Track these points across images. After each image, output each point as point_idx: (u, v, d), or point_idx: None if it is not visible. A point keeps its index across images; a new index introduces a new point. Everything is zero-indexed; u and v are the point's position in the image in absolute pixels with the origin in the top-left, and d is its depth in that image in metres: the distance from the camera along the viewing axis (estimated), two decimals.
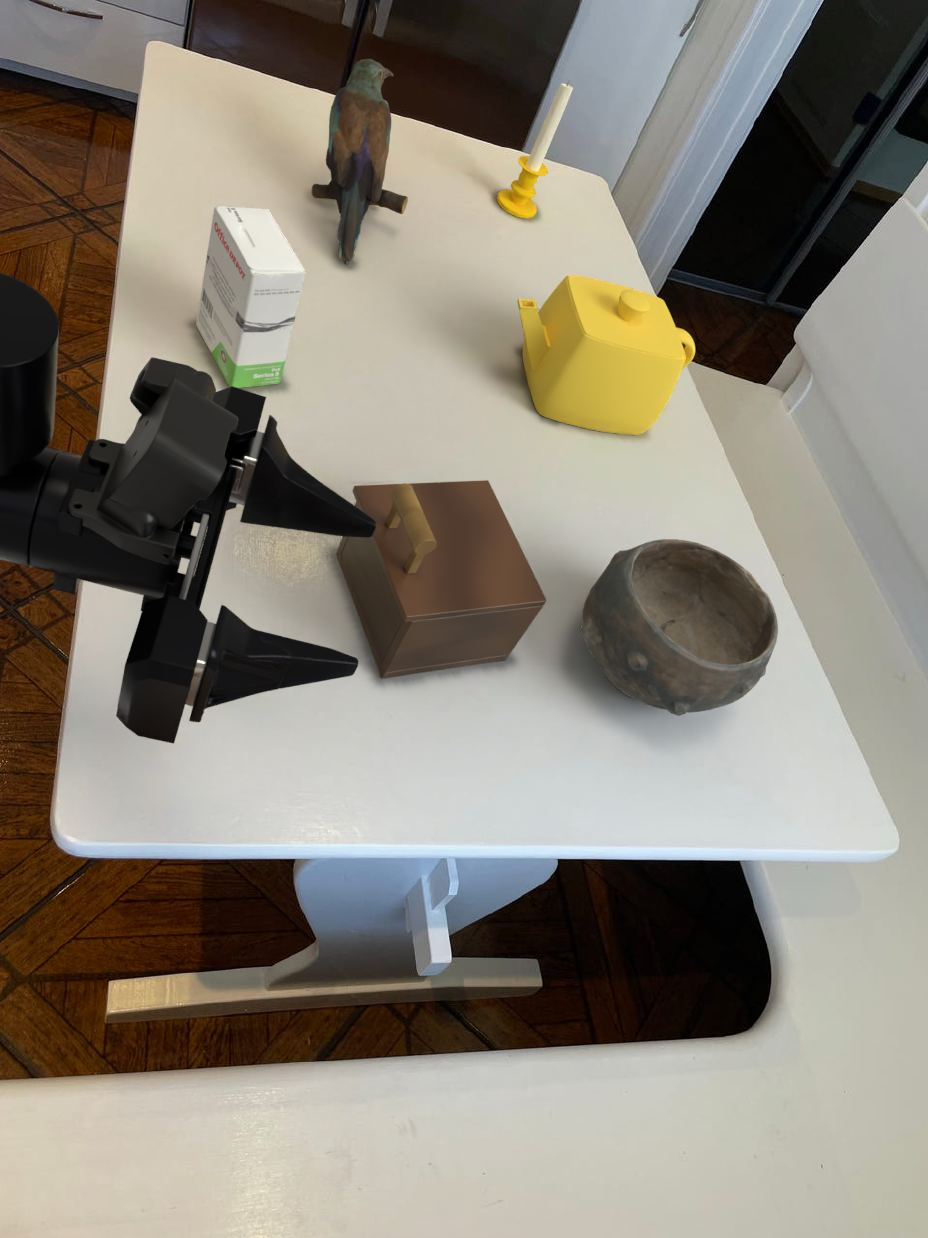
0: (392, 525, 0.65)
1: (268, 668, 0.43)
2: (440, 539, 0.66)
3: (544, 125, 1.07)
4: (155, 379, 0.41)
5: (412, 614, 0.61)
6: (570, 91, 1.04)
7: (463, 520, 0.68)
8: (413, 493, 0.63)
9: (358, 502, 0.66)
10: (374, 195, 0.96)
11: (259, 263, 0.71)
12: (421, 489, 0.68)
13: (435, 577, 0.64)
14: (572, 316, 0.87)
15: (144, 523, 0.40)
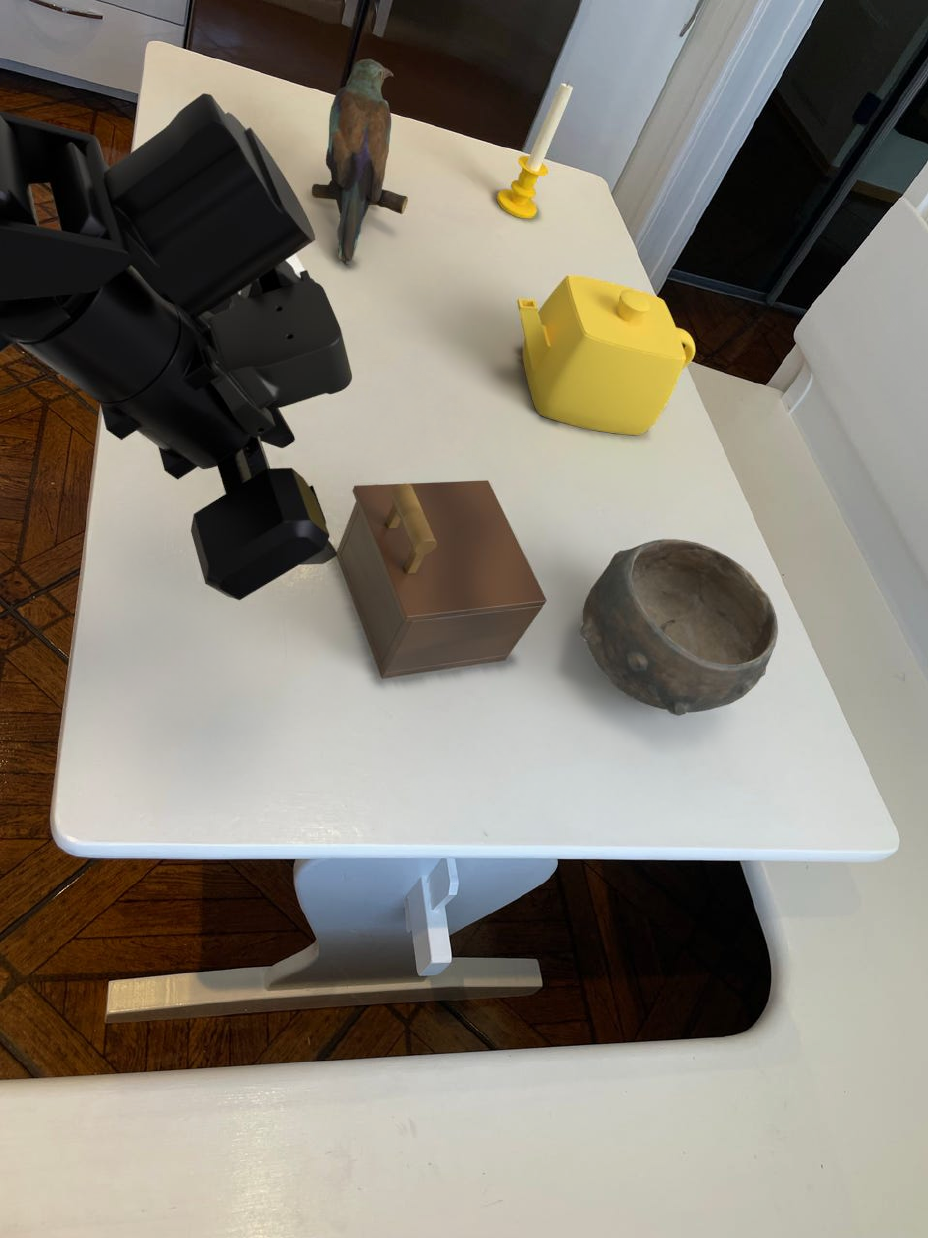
0: (392, 525, 0.65)
1: None
2: (440, 539, 0.66)
3: (544, 125, 1.07)
4: (285, 272, 0.46)
5: (412, 614, 0.61)
6: (570, 91, 1.04)
7: (463, 520, 0.68)
8: (413, 493, 0.63)
9: (358, 502, 0.66)
10: (374, 195, 0.96)
11: None
12: (421, 489, 0.68)
13: (435, 577, 0.64)
14: (572, 316, 0.87)
15: (274, 398, 0.45)
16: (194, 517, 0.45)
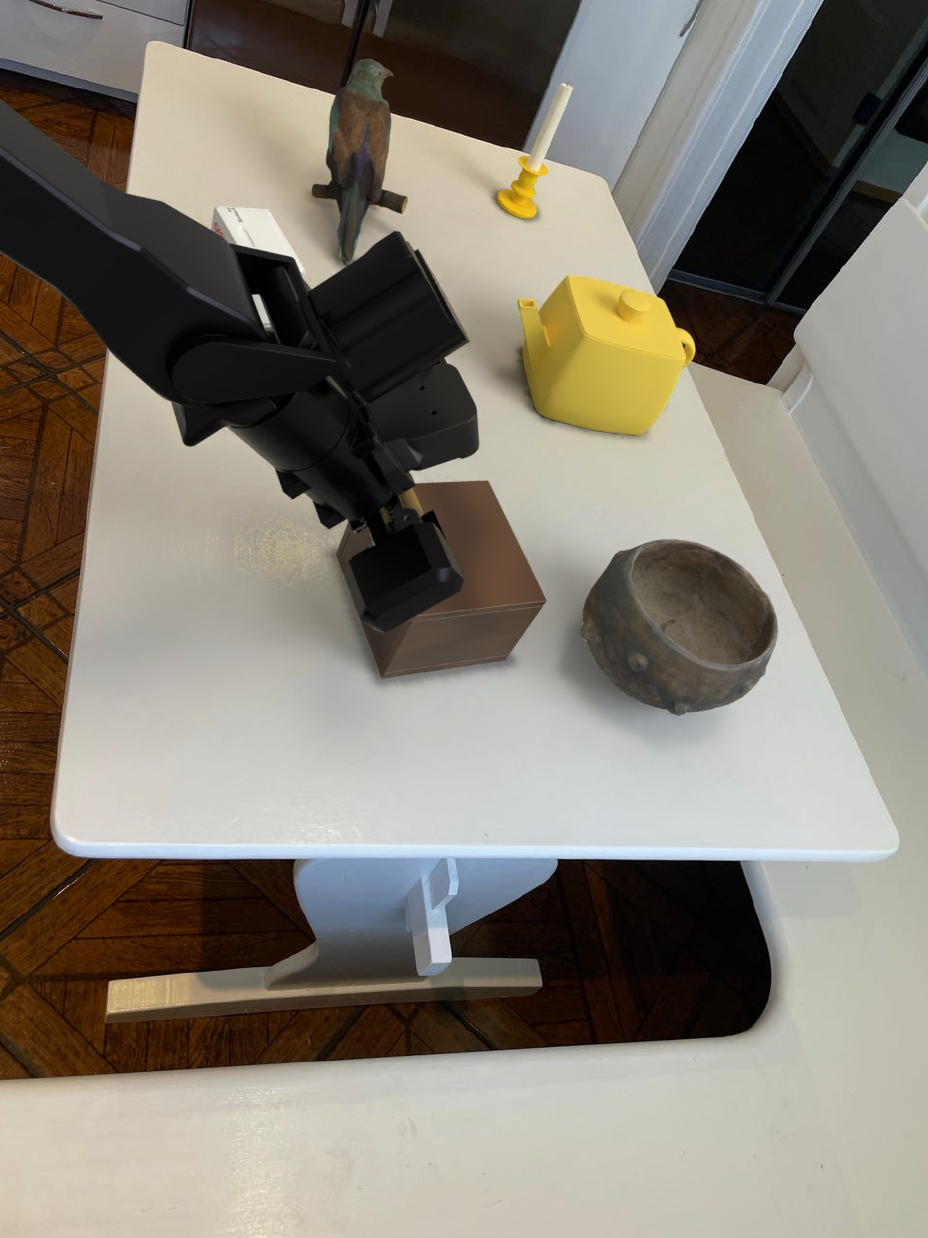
0: None
1: None
2: None
3: (544, 125, 1.07)
4: None
5: None
6: (570, 91, 1.04)
7: (463, 520, 0.68)
8: (413, 493, 0.63)
9: None
10: (374, 195, 0.96)
11: None
12: (421, 489, 0.68)
13: None
14: (572, 316, 0.87)
15: (419, 464, 0.53)
16: (349, 563, 0.54)
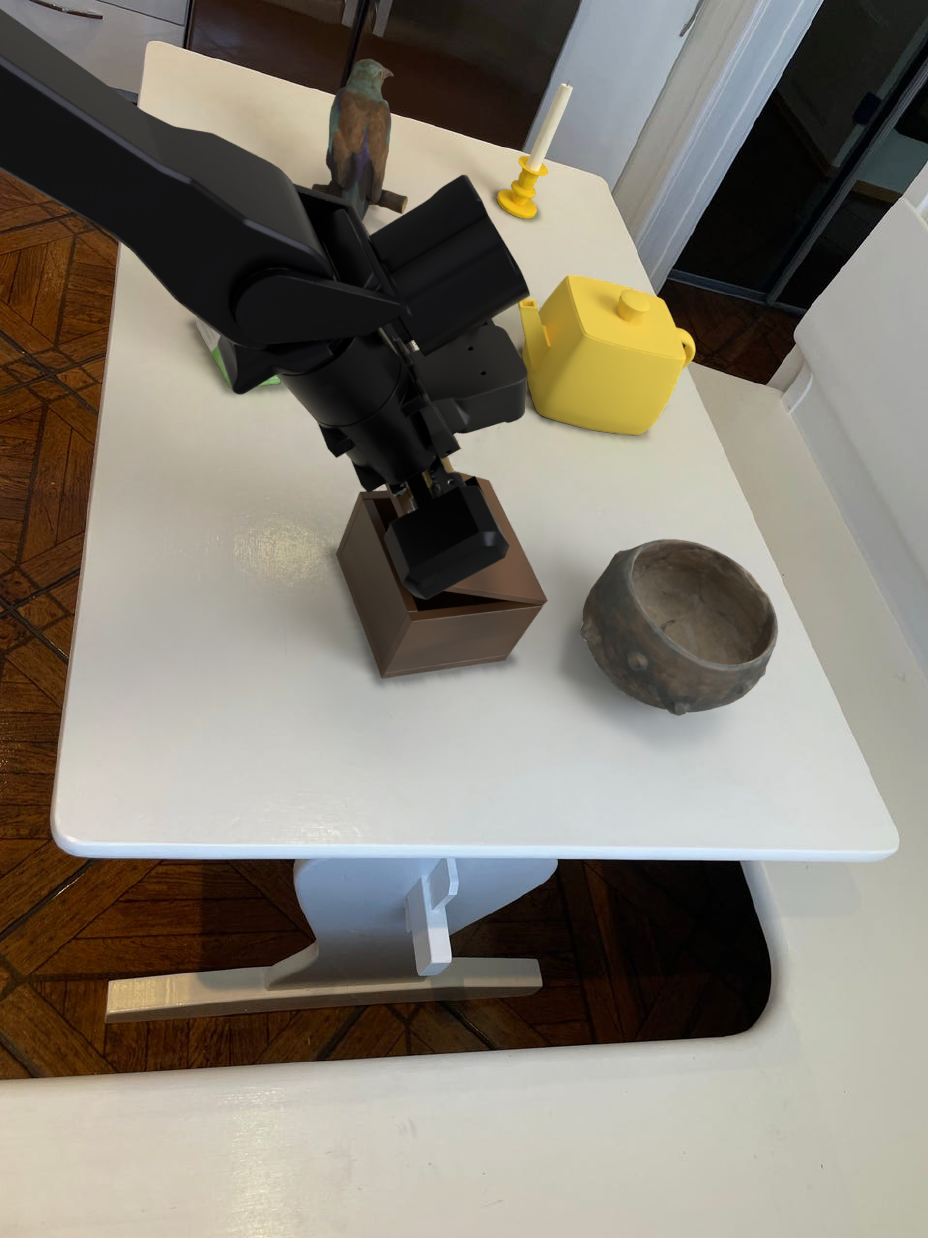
0: None
1: None
2: None
3: (544, 125, 1.07)
4: None
5: None
6: (570, 91, 1.04)
7: None
8: (450, 464, 0.61)
9: None
10: (374, 195, 0.96)
11: None
12: None
13: None
14: (572, 316, 0.87)
15: (466, 425, 0.52)
16: (391, 526, 0.52)
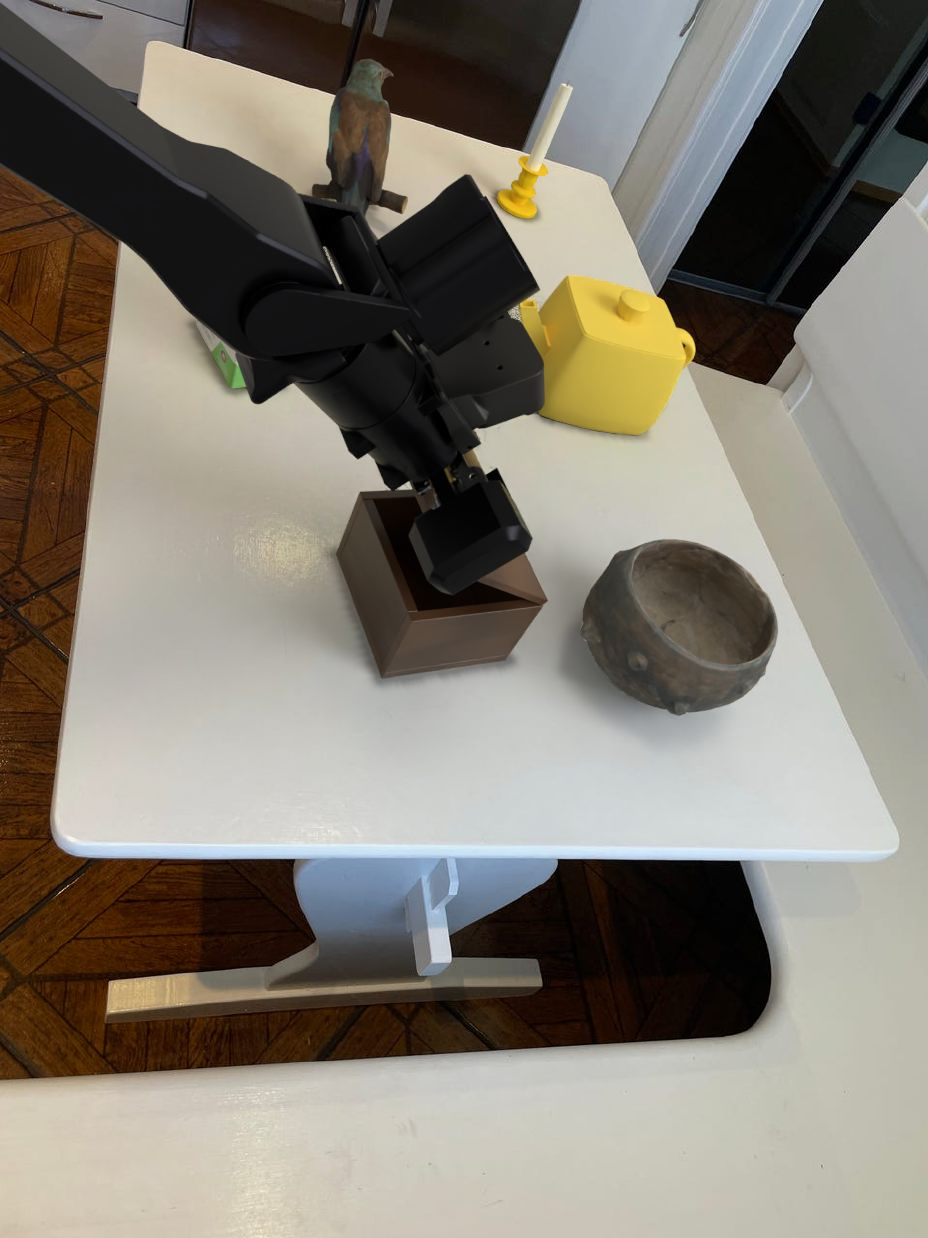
0: None
1: None
2: None
3: (544, 125, 1.07)
4: None
5: None
6: (570, 91, 1.04)
7: None
8: (473, 451, 0.61)
9: None
10: (374, 195, 0.96)
11: None
12: None
13: None
14: (573, 316, 0.87)
15: (485, 420, 0.52)
16: (415, 524, 0.53)
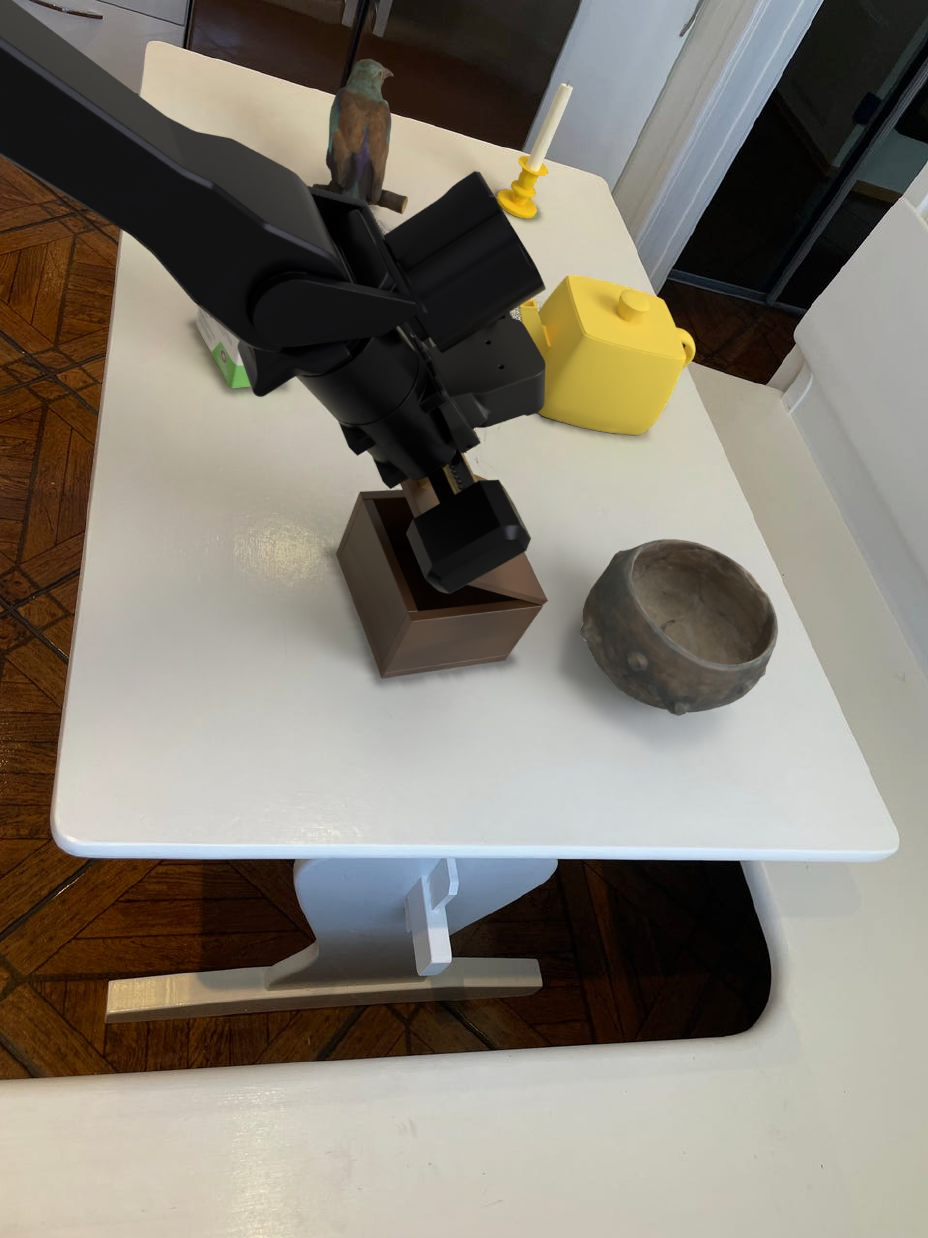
0: (425, 485, 0.62)
1: None
2: None
3: (544, 125, 1.07)
4: None
5: None
6: (570, 91, 1.04)
7: None
8: (464, 455, 0.61)
9: None
10: (374, 195, 0.96)
11: None
12: None
13: None
14: (572, 315, 0.87)
15: (486, 420, 0.52)
16: (413, 522, 0.53)
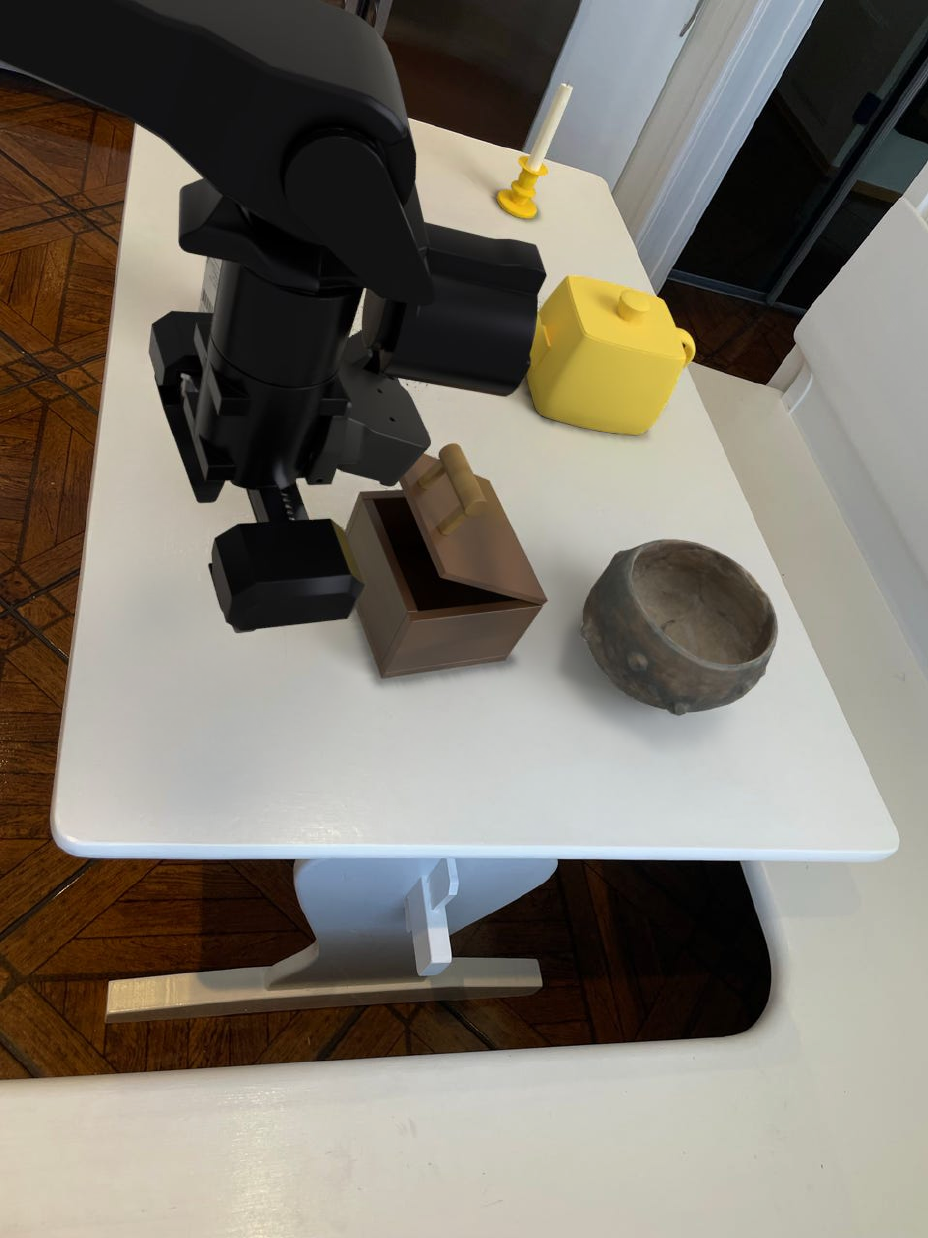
0: (425, 485, 0.62)
1: None
2: None
3: (544, 125, 1.07)
4: None
5: (450, 571, 0.58)
6: (570, 91, 1.04)
7: None
8: (464, 455, 0.61)
9: None
10: None
11: None
12: None
13: (463, 546, 0.62)
14: (573, 315, 0.87)
15: (356, 461, 0.45)
16: (238, 527, 0.41)
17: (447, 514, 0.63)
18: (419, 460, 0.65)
